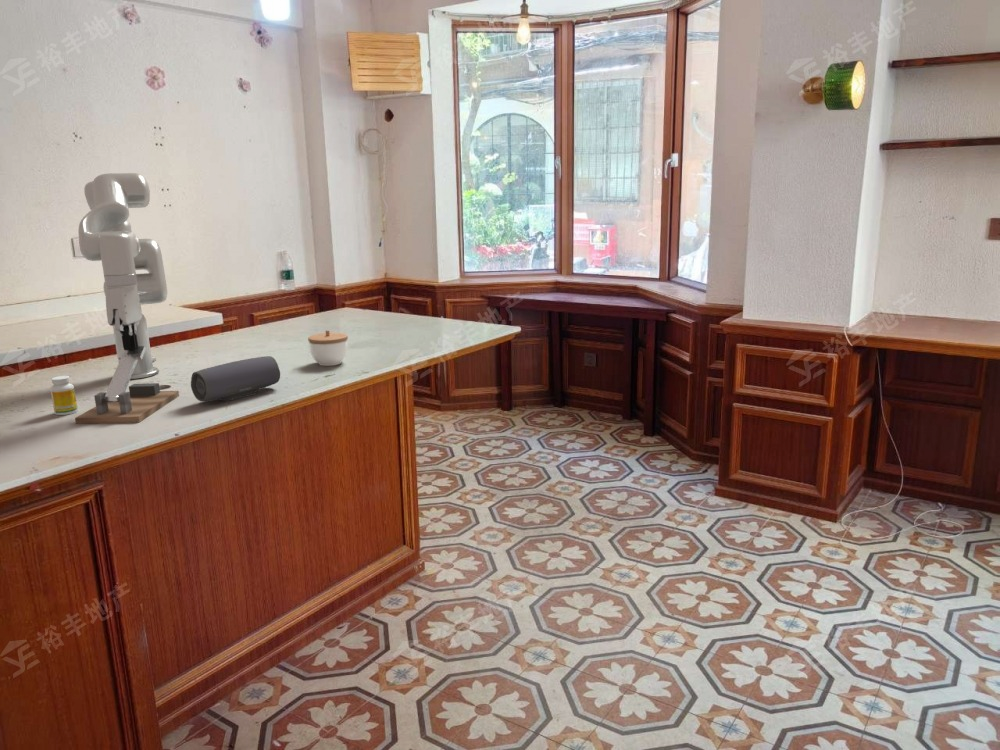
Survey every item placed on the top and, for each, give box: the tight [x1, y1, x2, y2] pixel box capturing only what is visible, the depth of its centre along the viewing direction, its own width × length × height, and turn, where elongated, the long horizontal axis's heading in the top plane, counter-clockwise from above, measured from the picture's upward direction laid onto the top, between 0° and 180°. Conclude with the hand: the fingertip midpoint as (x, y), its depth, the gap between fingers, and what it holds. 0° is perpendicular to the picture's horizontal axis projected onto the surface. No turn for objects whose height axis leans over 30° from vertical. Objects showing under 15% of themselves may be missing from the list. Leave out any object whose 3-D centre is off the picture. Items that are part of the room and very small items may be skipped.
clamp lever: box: [103, 346, 146, 403], centre depth 193 cm, size 19×6×2 cm
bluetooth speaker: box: [190, 355, 281, 402], centre depth 205 cm, size 23×9×10 cm, turn 141°
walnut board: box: [74, 390, 180, 425], centre depth 196 cm, size 24×16×6 cm, turn 0°
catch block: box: [128, 382, 161, 396], centre depth 205 cm, size 3×7×3 cm, turn 91°
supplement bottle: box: [50, 375, 79, 416], centre depth 193 cm, size 5×5×10 cm
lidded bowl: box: [307, 329, 349, 367], centre depth 242 cm, size 13×13×11 cm
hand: (131, 349), depth 197 cm, fingers closed
